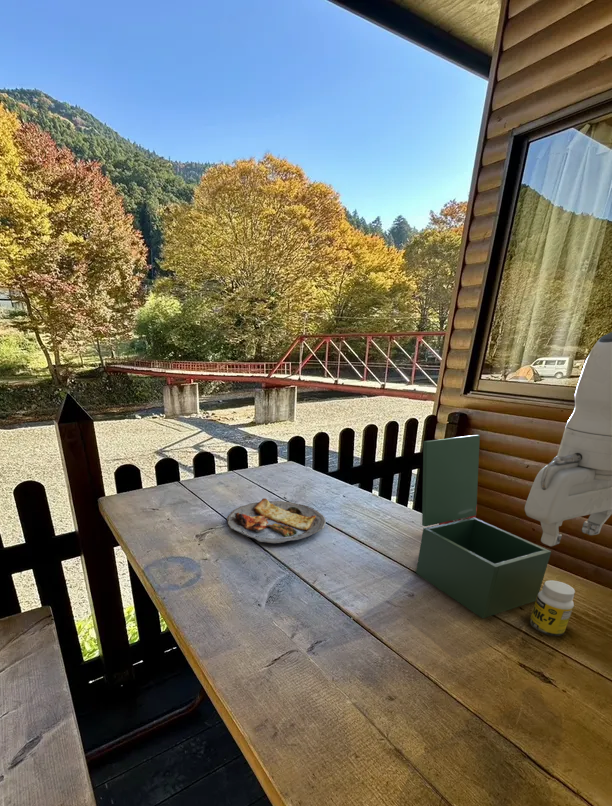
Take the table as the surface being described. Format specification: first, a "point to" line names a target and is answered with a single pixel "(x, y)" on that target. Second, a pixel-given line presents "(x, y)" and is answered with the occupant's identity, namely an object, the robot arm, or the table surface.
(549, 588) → the supplement bottle
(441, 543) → the chest
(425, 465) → the lid
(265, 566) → the table surface
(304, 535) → the food plate
